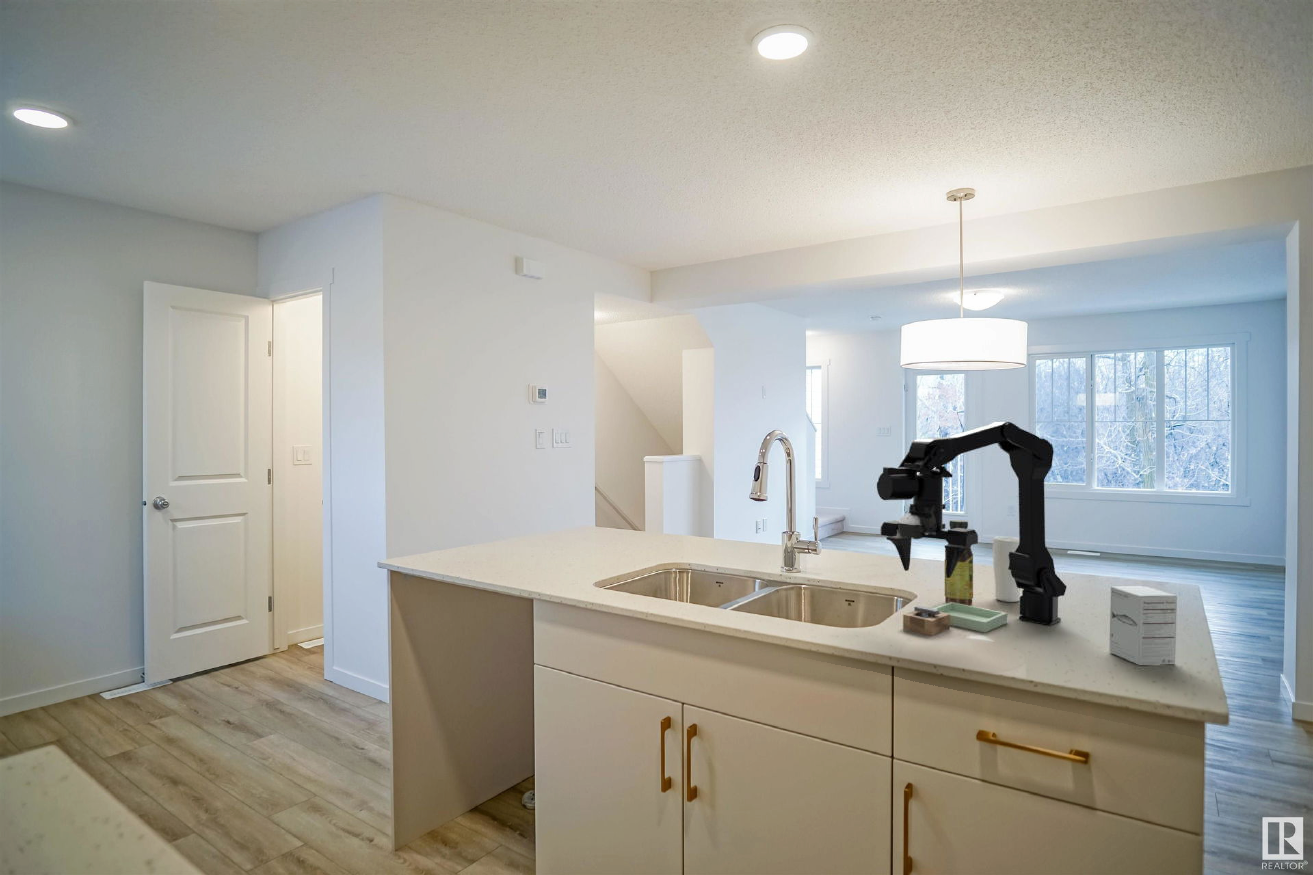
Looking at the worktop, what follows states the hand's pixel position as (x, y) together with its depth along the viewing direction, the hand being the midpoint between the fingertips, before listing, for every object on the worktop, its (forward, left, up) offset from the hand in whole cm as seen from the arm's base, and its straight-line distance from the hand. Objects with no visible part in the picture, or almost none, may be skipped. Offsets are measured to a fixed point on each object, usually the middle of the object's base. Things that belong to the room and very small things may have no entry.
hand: (927, 573), depth 145 cm
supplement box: (-35, -12, -12) cm, 39 cm away
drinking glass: (-1, -38, -12) cm, 40 cm away
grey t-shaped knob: (0, 0, -11) cm, 11 cm away
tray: (-3, -12, -11) cm, 17 cm away
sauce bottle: (+5, -25, -12) cm, 28 cm away
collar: (0, 0, -11) cm, 11 cm away
